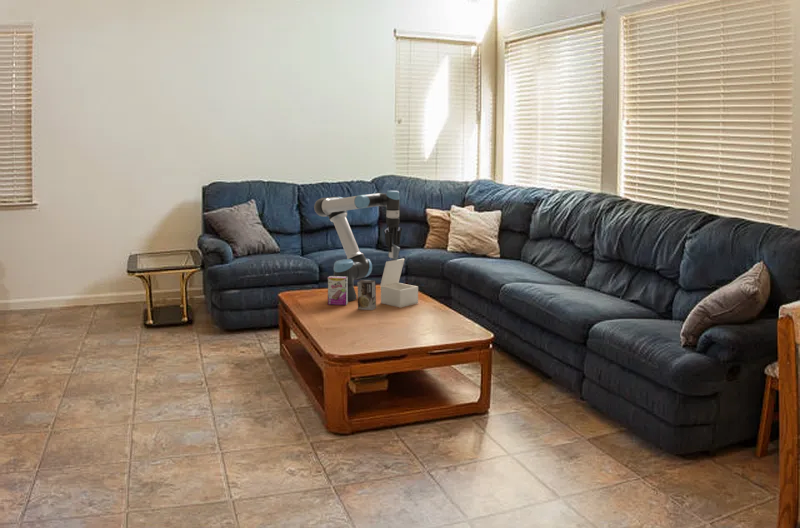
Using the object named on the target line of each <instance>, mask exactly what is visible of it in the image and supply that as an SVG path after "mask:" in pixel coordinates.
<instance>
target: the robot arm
mask: <svg viewBox="0 0 800 528" xmlns="http://www.w3.org/2000/svg"><path fill="white" fill-rule="evenodd" d="M400 200H401V197H400V191H399V190H387V191H386V193H384V192H383V193H381V192H372V193H369V194H359V195H354V196H348V197H347V196H346V197H342V196H336V195H334V196H328V197H321V198H319V199H317V200H316V201H315V203H314V205H313V207H314V209H313V210H314V212H315V213H316V215H318V216H319V217H322V218H323V217H324V218H325V217H327V218H328V219H329V221H330V222H331V223H333V225H334V227H335V230H336V233H337V236H338V238H339V240H340V242H341V243H340V244H341V245H342V247H343V251H344V253H345V255H346V258H343V259H339V260H336V261H334V263H333V276H342V277H348V302H351V301H355V300H357V293H356V289H355V287H354V280H361V279H364V278H367V277H369V276H370V275H371V274H372V271H373V264H372V261H371V259H369V258H367V257H365V254H364V253H363V252H361V251H360V249H359V246H358V243H357V241H356V239H355V236H354V233H353V231H352V228H351V226H350V224H349V221H348V218H347V217H348V211H351V210H359V209H366V208H367V209H368V208H377V207H386V224H387V225H386V228H385V229H383V233H384V240H385V246H386V247H388V253H389V257H388V258H390V259H391V258H393V247H392V244H395V245H396V246H398V247H400V246H399V245H400V244H401V234H402V230H403V227H400V225H399V224H400Z"/></svg>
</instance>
